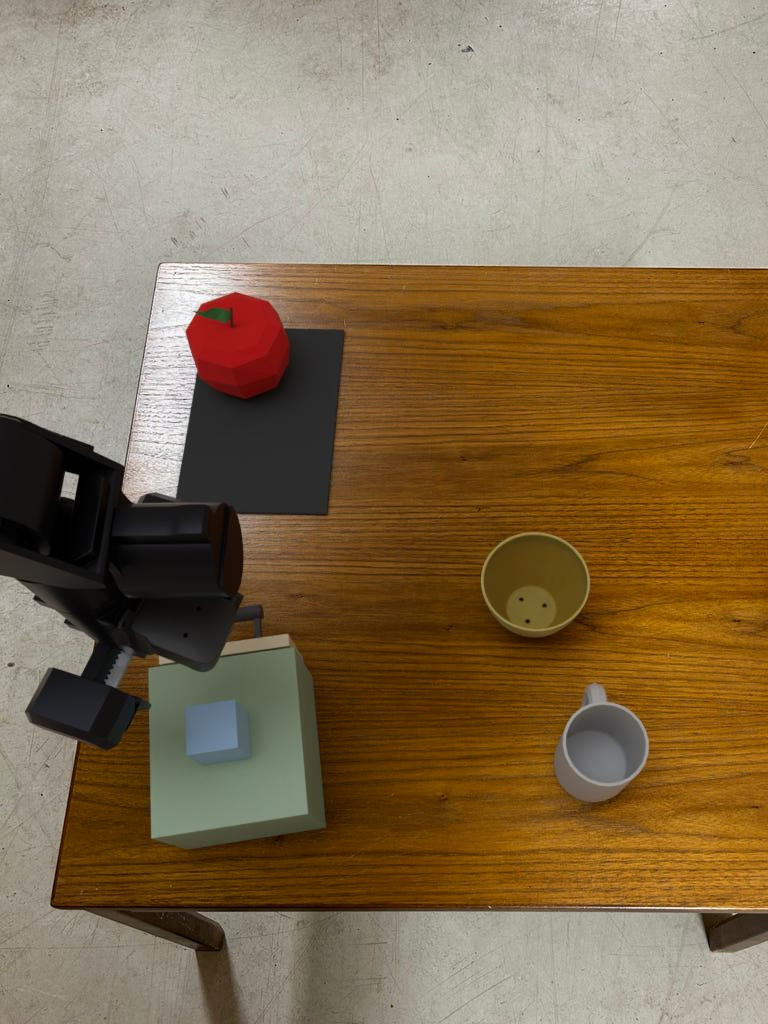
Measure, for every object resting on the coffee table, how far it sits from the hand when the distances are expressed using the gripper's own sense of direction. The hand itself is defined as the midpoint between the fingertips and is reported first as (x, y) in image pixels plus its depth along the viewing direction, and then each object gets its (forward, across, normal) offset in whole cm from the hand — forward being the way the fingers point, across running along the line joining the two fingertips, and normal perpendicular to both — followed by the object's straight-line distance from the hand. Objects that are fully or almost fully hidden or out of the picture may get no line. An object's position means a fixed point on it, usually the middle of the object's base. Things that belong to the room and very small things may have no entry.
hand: (170, 653), depth 66 cm
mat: (+12, +31, +8) cm, 34 cm away
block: (+4, -5, -6) cm, 8 cm away
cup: (+13, +6, -36) cm, 38 cm away
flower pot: (+13, +18, -26) cm, 34 cm away
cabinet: (+12, -5, -6) cm, 14 cm away
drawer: (+12, -1, -4) cm, 12 cm away
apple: (+12, +36, +12) cm, 40 cm away
